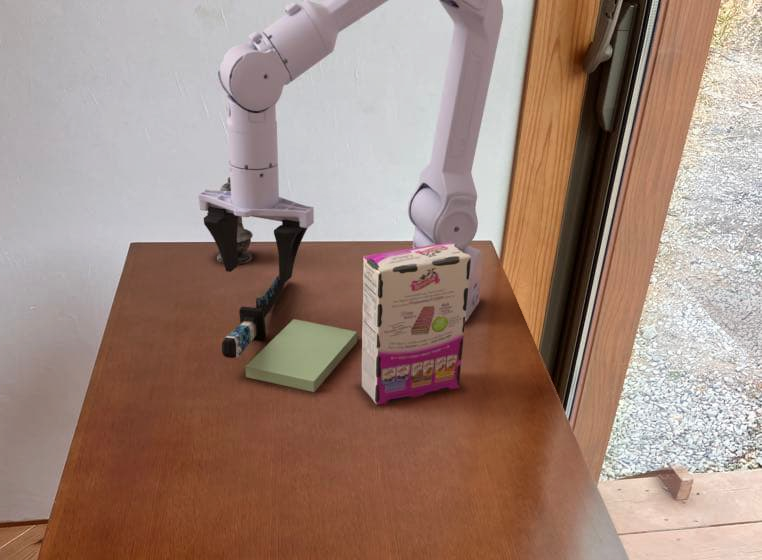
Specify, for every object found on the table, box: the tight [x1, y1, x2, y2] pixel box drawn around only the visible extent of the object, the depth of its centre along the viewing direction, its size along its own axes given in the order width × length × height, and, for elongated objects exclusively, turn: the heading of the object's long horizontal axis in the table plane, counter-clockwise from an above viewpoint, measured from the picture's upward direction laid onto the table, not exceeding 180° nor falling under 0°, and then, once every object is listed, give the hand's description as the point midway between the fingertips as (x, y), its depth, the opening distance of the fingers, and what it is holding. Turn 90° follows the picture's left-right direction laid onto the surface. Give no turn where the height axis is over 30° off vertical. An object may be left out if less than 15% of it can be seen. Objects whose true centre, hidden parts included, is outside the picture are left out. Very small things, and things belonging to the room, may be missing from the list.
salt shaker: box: [216, 176, 254, 266], centre depth 131 cm, size 6×6×12 cm
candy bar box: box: [361, 242, 471, 406], centre depth 101 cm, size 11×5×16 cm, turn 114°
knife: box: [221, 274, 286, 361], centre depth 116 cm, size 31×3×4 cm, turn 167°
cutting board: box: [245, 318, 358, 393], centre depth 111 cm, size 9×14×2 cm, turn 159°
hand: (258, 273), depth 112 cm, fingers open, 7 cm apart
